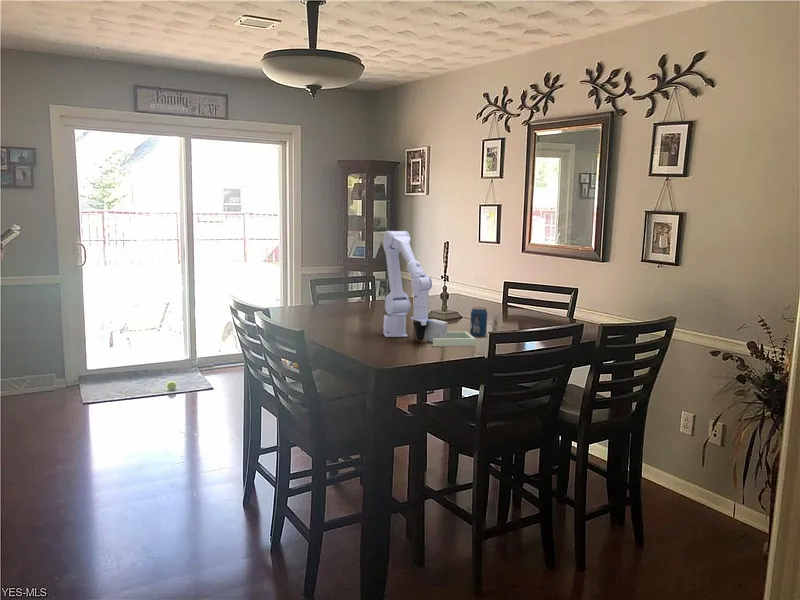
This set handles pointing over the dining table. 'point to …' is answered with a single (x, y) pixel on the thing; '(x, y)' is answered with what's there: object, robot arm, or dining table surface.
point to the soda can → (478, 322)
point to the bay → (455, 340)
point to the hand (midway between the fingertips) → (419, 339)
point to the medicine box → (436, 329)
